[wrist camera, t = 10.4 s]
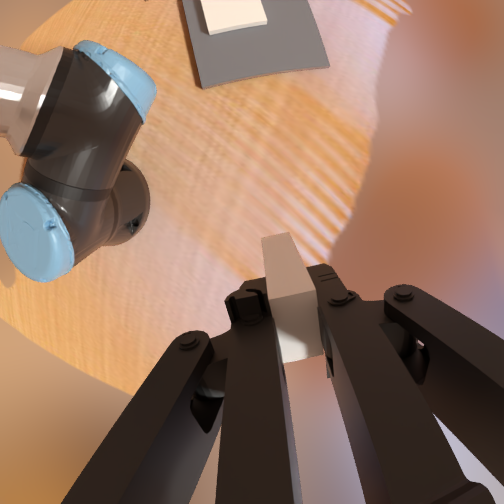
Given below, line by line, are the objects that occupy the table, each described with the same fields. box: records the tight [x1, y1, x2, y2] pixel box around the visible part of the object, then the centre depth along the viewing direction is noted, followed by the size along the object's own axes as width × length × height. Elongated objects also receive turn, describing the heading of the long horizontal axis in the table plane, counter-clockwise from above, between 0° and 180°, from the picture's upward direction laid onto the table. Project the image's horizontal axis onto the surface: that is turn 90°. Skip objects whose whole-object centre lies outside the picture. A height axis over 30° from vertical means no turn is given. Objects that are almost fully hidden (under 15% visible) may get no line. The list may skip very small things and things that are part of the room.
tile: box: [201, 0, 267, 35], centre depth 30 cm, size 2×8×9 cm
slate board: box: [182, 0, 330, 90], centre depth 32 cm, size 20×26×1 cm
